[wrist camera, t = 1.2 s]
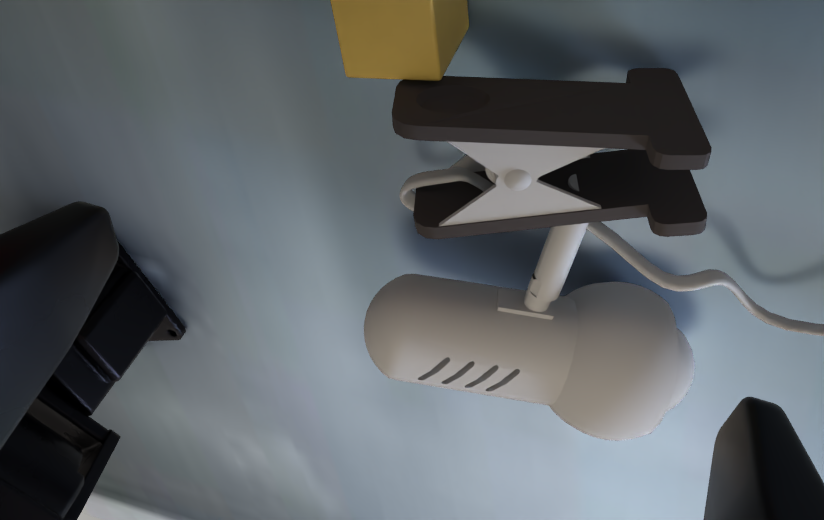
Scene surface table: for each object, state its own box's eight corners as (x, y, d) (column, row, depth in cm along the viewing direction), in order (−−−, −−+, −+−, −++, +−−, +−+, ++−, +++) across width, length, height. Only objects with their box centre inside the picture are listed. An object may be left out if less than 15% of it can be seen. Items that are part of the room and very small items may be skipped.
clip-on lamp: (1045, 128, 20) (408, 11, 19) (1223, 283, 15) (387, 139, 14) (821, 390, 28) (359, 316, 27) (893, 548, 23) (334, 466, 22)
